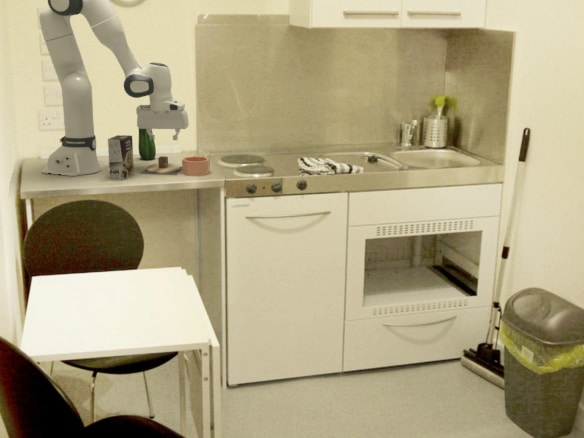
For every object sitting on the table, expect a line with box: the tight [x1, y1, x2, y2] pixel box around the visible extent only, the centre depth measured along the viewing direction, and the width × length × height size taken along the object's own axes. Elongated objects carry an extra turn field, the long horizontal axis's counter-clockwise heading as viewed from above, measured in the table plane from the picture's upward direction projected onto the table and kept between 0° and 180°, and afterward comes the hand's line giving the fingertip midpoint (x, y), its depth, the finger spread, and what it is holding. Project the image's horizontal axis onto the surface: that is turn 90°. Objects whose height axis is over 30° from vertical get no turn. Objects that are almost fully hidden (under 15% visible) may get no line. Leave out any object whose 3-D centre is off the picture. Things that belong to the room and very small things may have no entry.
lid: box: [146, 156, 180, 175], centre depth 299 cm, size 13×13×5 cm
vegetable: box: [138, 128, 157, 161], centre depth 317 cm, size 7×7×20 cm
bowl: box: [181, 155, 211, 177], centre depth 295 cm, size 10×10×6 cm
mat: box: [139, 165, 182, 176], centre depth 300 cm, size 15×15×1 cm
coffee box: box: [107, 134, 135, 181], centre depth 286 cm, size 9×6×16 cm
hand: (163, 139), depth 296 cm, fingers open, 8 cm apart
